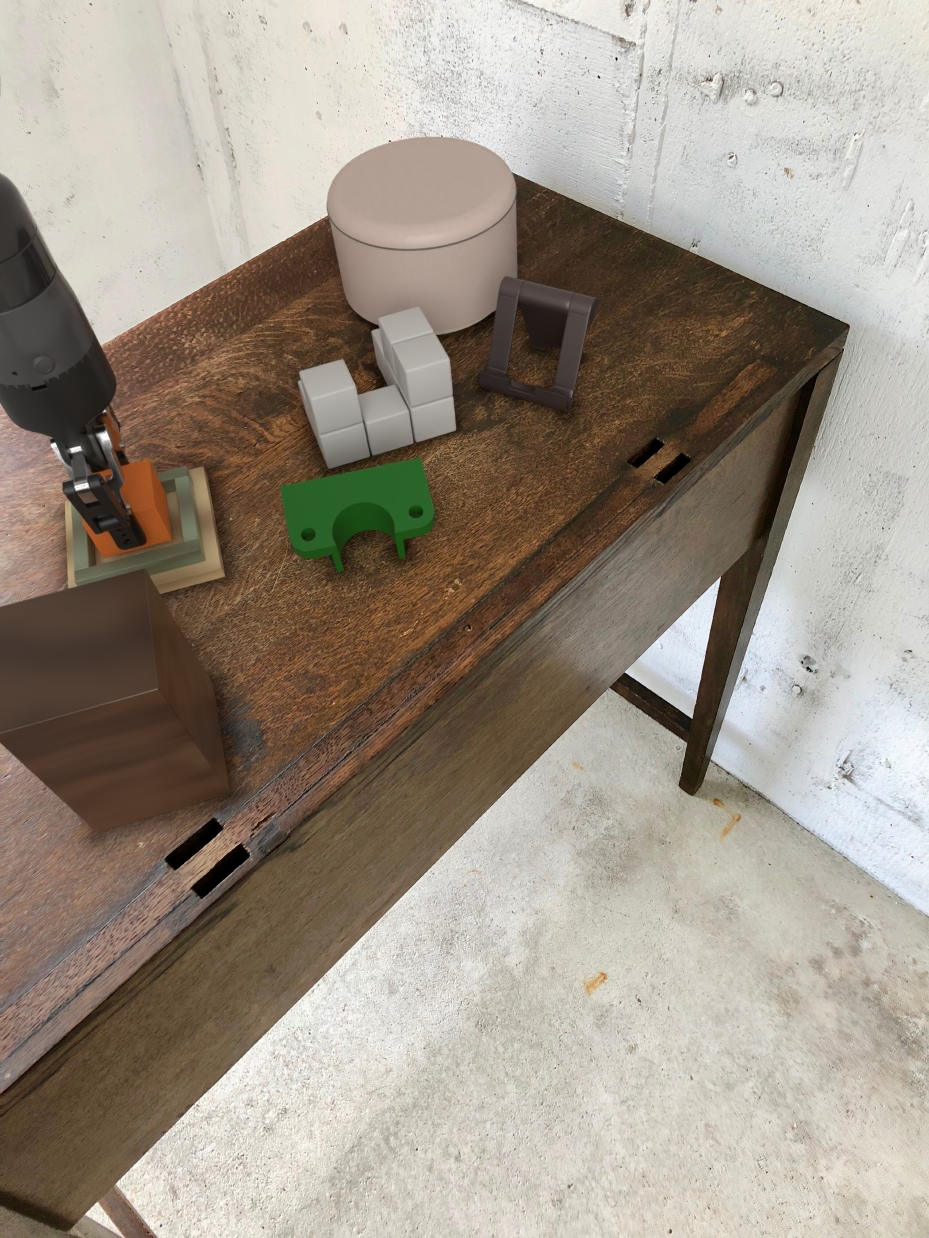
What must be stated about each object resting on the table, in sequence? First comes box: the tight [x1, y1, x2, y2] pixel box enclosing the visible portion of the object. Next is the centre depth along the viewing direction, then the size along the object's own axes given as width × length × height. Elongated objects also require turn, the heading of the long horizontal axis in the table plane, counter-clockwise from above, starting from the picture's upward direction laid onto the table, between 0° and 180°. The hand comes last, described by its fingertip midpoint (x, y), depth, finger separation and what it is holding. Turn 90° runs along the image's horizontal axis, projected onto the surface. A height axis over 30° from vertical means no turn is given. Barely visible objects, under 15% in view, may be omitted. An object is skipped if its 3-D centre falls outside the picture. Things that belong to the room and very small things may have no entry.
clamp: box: [279, 457, 436, 573], centre depth 69 cm, size 12×6×9 cm, turn 97°
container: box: [326, 136, 518, 336], centre depth 86 cm, size 18×18×12 cm
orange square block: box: [83, 458, 172, 558], centre depth 70 cm, size 6×6×4 cm
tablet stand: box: [478, 276, 599, 413], centre depth 78 cm, size 9×8×8 cm
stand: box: [0, 569, 231, 834], centre depth 56 cm, size 9×9×14 cm
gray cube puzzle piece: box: [297, 307, 457, 470], centre depth 78 cm, size 12×12×8 cm
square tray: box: [64, 465, 226, 595], centre depth 72 cm, size 12×12×3 cm
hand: (130, 517), depth 70 cm, fingers closed on orange square block, 5 cm apart
